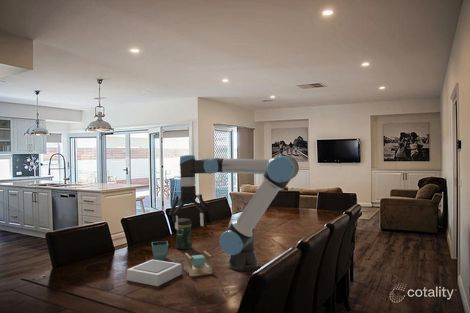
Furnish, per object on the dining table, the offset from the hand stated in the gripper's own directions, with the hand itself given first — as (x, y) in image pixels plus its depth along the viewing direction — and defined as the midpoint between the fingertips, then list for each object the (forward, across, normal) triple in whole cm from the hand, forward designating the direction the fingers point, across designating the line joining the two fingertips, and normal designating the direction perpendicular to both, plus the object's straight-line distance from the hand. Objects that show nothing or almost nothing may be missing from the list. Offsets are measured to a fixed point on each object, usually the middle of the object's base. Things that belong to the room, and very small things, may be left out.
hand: (189, 227), depth 181 cm
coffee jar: (+21, -11, -43) cm, 49 cm away
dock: (+21, +19, +2) cm, 28 cm away
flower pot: (+21, +9, -26) cm, 35 cm away
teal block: (+18, -2, +4) cm, 19 cm away
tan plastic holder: (+22, -2, +4) cm, 22 cm away
